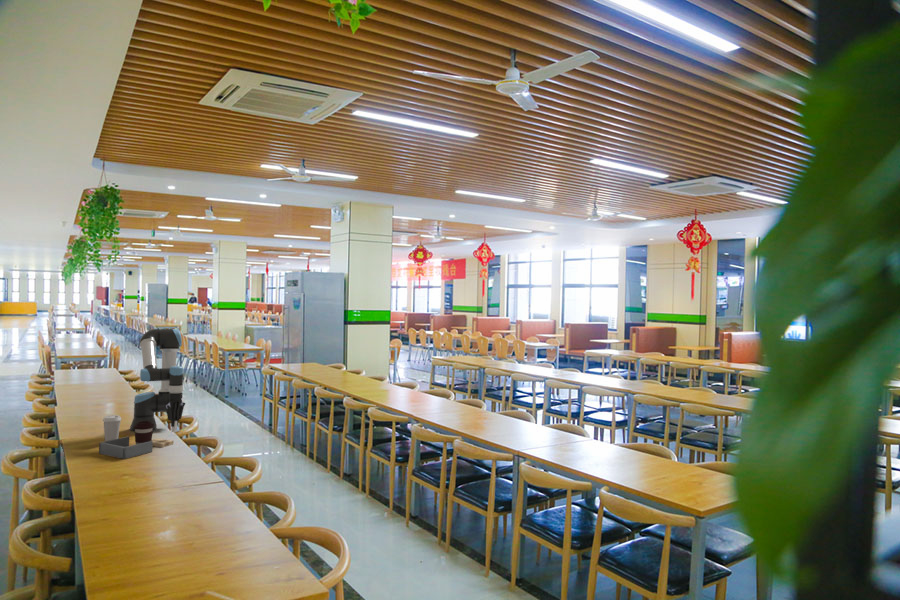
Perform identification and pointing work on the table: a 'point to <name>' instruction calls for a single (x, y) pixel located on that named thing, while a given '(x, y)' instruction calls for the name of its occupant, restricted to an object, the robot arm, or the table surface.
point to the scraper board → (162, 442)
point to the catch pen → (124, 448)
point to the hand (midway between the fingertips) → (174, 431)
